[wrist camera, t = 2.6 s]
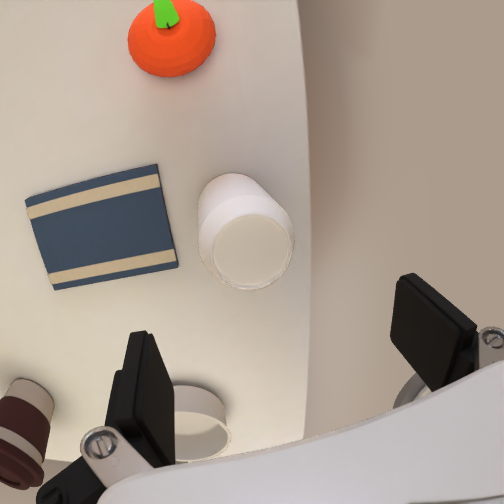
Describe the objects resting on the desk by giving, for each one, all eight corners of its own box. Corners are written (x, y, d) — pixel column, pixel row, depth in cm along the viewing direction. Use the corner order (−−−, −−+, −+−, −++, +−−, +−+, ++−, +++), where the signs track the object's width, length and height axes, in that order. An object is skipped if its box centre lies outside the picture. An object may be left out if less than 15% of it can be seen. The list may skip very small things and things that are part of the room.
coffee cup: (68, 392, 36) (42, 482, 22) (57, 425, 38) (37, 503, 24) (7, 359, 32) (-35, 440, 19) (3, 397, 35) (-28, 469, 21)
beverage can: (277, 203, 31) (322, 250, 20) (231, 248, 32) (251, 316, 21) (230, 157, 28) (252, 179, 17) (183, 206, 29) (176, 257, 18)
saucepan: (144, 456, 43) (143, 483, 38) (140, 373, 36) (135, 406, 31) (214, 460, 45) (217, 487, 40) (232, 381, 38) (238, 414, 33)
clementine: (125, 19, 22) (106, -8, 15) (199, -4, 22) (201, -38, 15) (147, 93, 25) (131, 84, 18) (222, 69, 25) (230, 52, 19)
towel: (157, 163, 28) (155, 164, 27) (178, 264, 31) (178, 268, 31) (28, 198, 26) (23, 200, 25) (56, 287, 30) (53, 291, 29)
